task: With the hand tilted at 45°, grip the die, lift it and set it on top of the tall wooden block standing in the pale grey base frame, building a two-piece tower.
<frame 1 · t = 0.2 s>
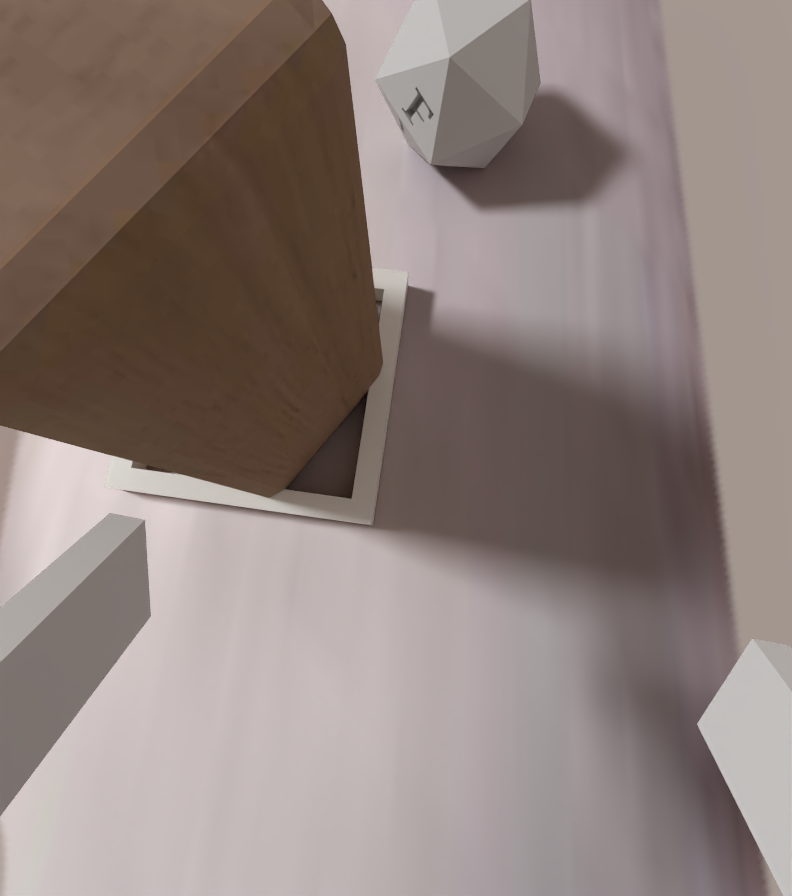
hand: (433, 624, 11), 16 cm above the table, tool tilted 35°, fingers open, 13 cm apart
die: (453, 139, 31), on the table
wooden block: (268, 384, 28), resting in base frame
base frame: (268, 384, 28), on the table
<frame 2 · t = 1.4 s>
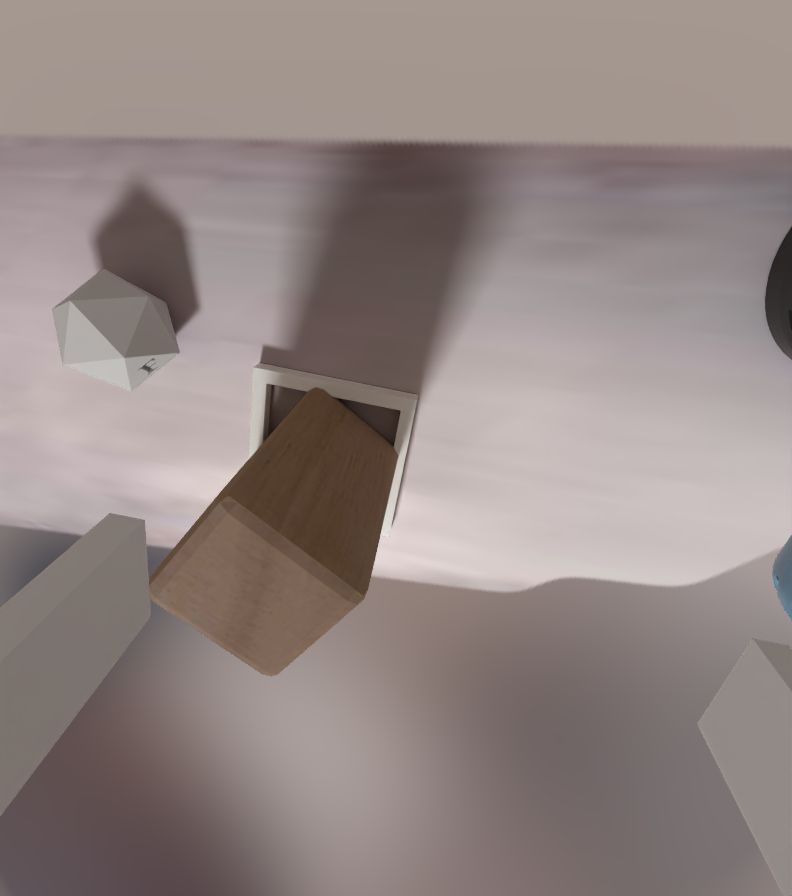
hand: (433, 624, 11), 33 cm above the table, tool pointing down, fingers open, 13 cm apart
die: (146, 322, 43), on the table
wooden block: (329, 450, 46), resting in base frame
base frame: (329, 450, 46), on the table
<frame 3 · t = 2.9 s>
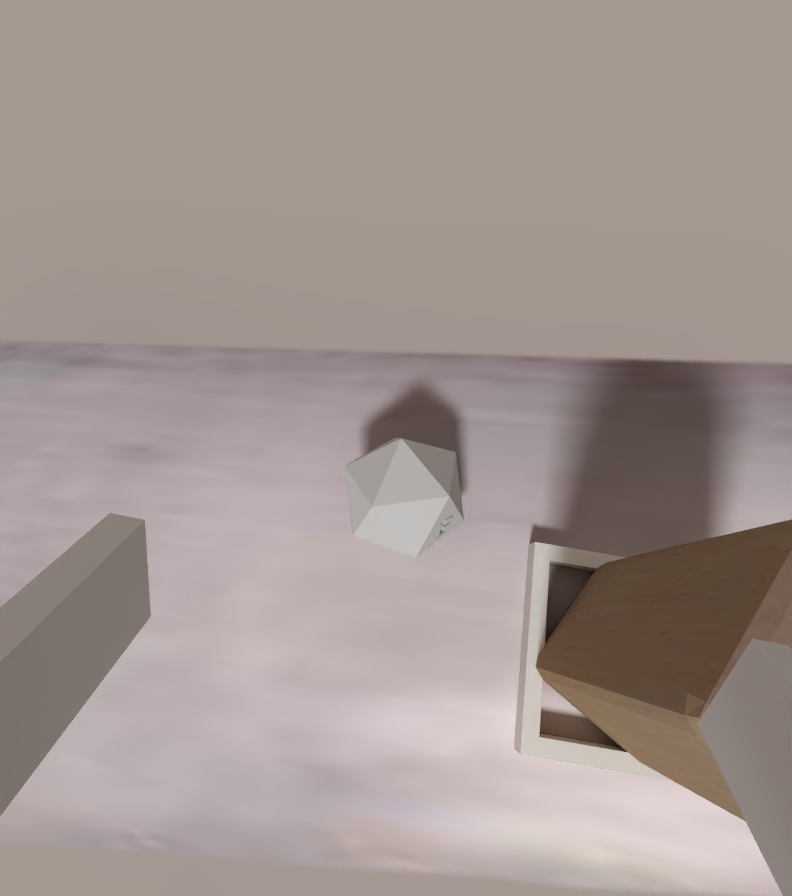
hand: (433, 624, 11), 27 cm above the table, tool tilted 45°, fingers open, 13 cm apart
die: (402, 505, 40), on the table
wooden block: (617, 656, 36), resting in base frame
base frame: (617, 656, 36), on the table
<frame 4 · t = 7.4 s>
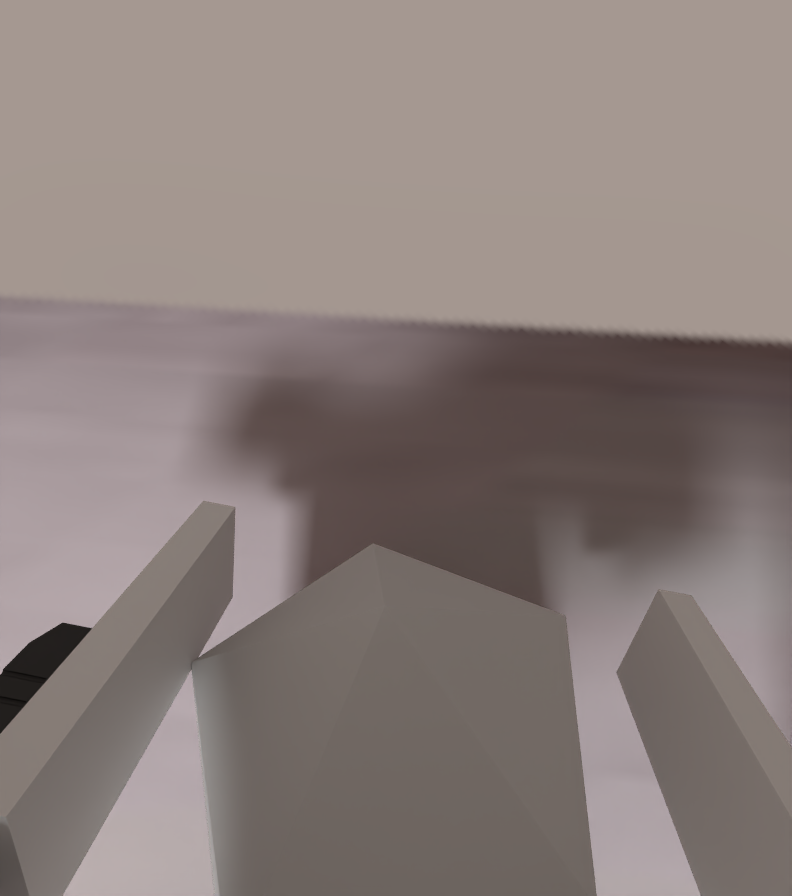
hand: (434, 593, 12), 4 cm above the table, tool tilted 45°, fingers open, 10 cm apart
die: (388, 720, 15), on the table, touching gripper
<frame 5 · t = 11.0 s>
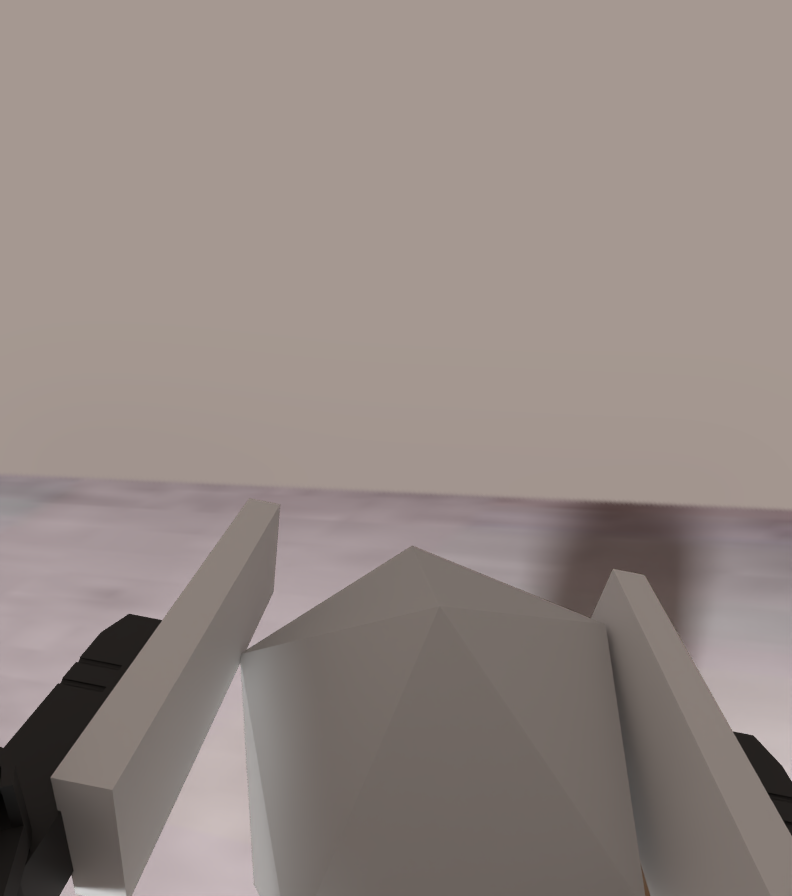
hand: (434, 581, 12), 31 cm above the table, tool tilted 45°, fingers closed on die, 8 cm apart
die: (418, 721, 15), point 26 cm above the table, touching gripper
when the fingers open (25 cm above the table, at t = 14.2 s): die stays where it is, resting on wooden block.
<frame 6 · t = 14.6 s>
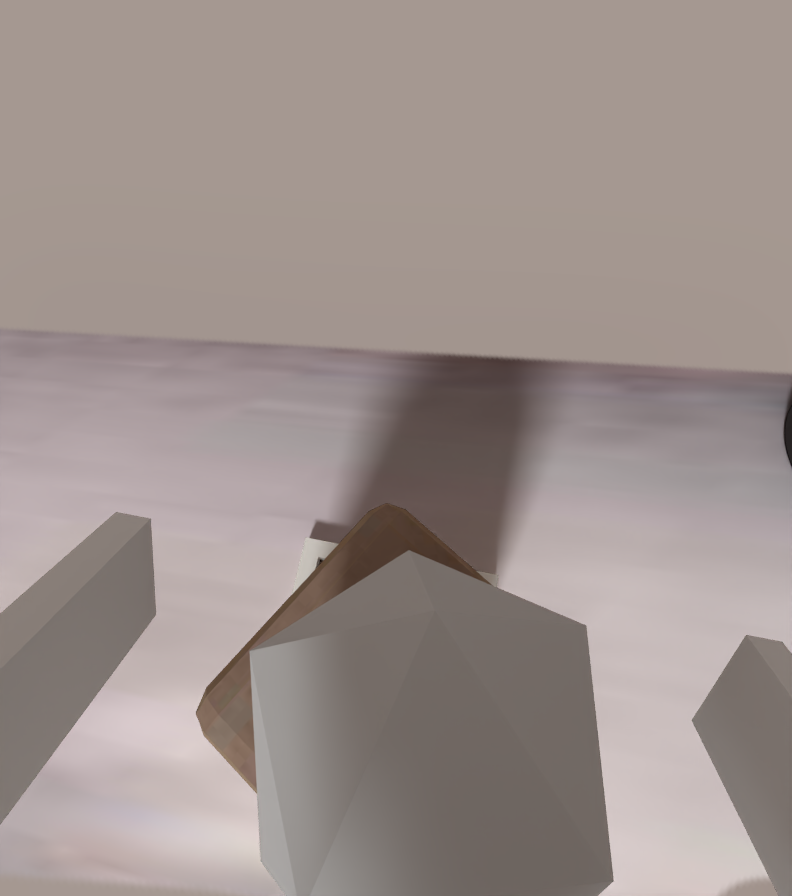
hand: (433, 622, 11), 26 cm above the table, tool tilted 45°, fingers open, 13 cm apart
die: (412, 713, 16), point 20 cm above the table, touching wooden block
wooden block: (383, 658, 35), resting in base frame, touching die
base frame: (382, 659, 35), on the table
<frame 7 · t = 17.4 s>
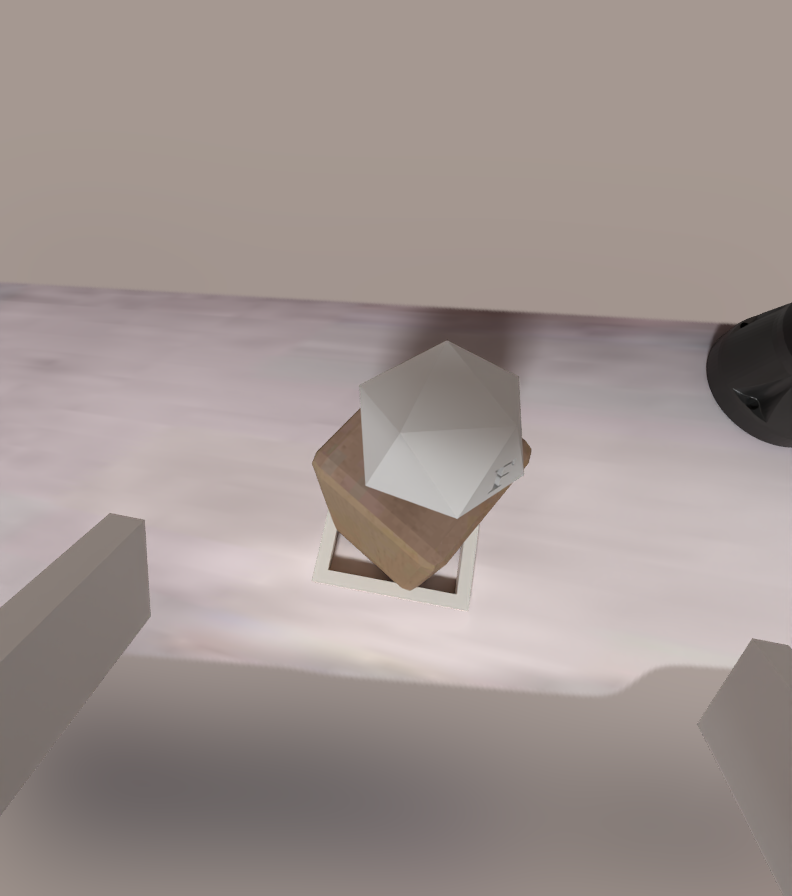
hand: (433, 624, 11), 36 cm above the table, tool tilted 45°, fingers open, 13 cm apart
die: (433, 456, 29), point 20 cm above the table, touching wooden block
wooden block: (403, 520, 48), resting in base frame, touching die
base frame: (402, 521, 48), on the table
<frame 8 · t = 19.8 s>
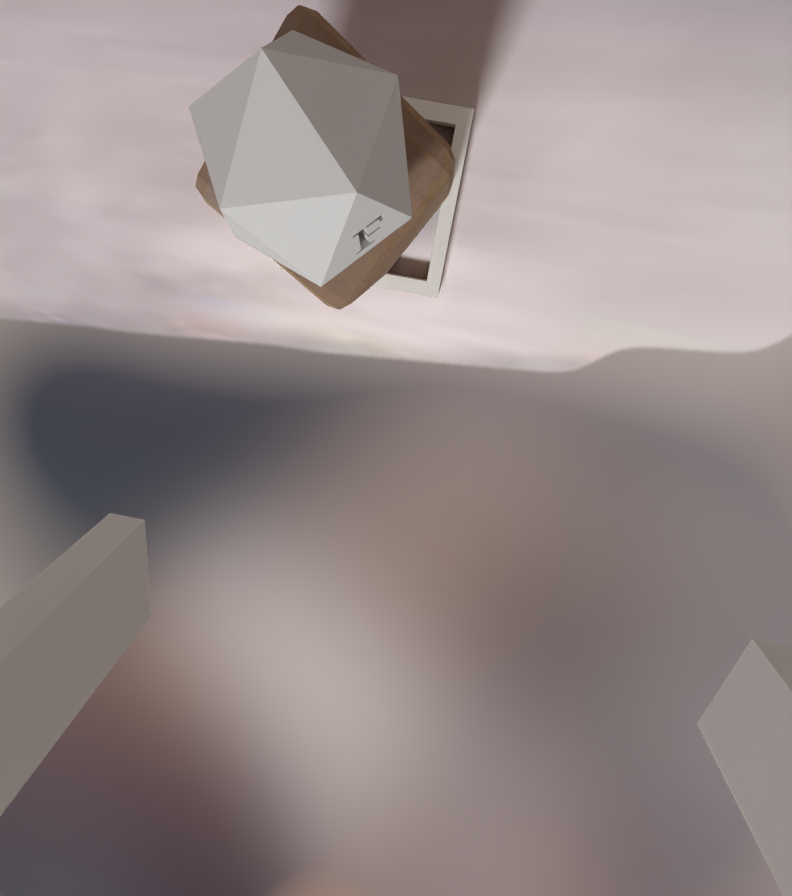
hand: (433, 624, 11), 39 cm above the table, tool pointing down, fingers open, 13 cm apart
die: (328, 174, 24), point 20 cm above the table, touching wooden block
wooden block: (373, 194, 42), resting in base frame, touching die
base frame: (372, 195, 42), on the table
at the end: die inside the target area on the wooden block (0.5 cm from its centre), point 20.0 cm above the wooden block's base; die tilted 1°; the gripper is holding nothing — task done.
